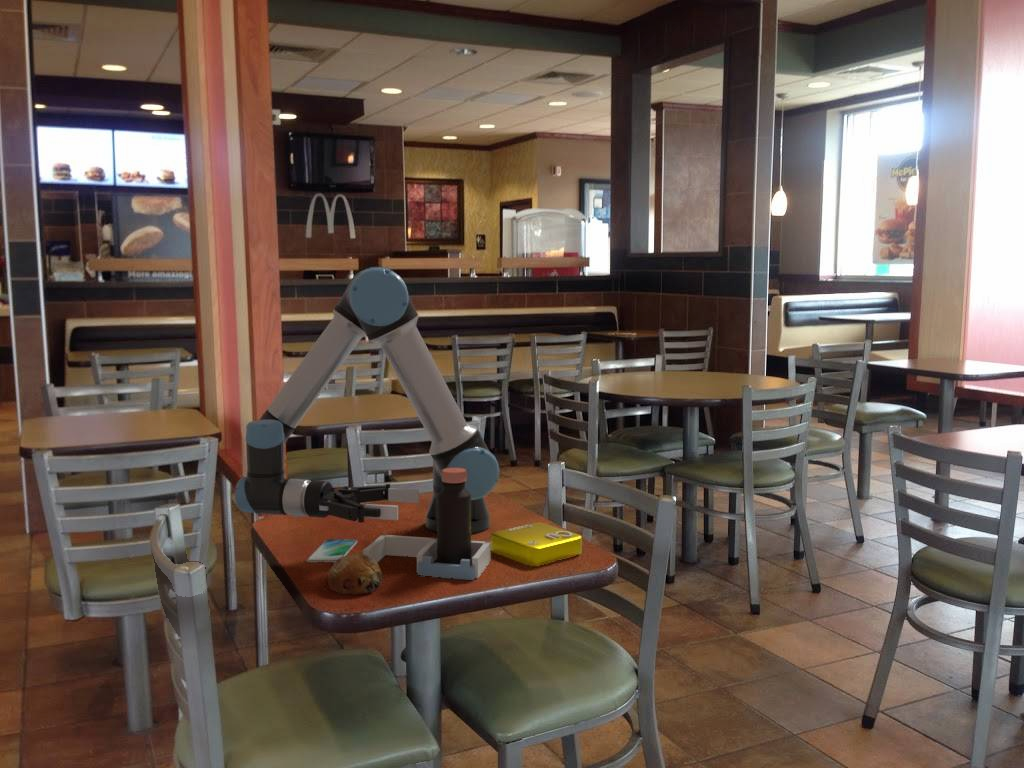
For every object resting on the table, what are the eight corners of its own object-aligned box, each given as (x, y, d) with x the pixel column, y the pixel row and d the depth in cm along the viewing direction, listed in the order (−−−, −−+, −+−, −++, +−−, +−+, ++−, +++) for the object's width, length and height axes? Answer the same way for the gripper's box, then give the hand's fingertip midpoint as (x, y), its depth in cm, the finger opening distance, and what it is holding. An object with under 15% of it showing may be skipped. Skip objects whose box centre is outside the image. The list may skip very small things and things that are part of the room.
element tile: (539, 539, 201) (539, 519, 201) (586, 555, 190) (586, 533, 189) (486, 552, 192) (487, 530, 191) (533, 570, 180) (533, 547, 180)
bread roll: (375, 595, 174) (369, 554, 176) (392, 588, 166) (385, 545, 168) (325, 603, 169) (320, 562, 172) (340, 597, 161) (334, 553, 163)
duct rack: (382, 552, 189) (382, 534, 189) (490, 560, 184) (490, 541, 184) (360, 571, 177) (360, 551, 176) (476, 580, 172) (476, 560, 172)
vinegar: (444, 561, 184) (443, 465, 182) (475, 564, 182) (475, 467, 180) (432, 571, 178) (432, 472, 175) (464, 574, 176) (464, 474, 173)
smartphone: (305, 560, 183) (326, 539, 197) (305, 564, 183) (326, 542, 198) (339, 560, 182) (358, 539, 197) (340, 564, 182) (358, 543, 197)
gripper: (333, 501, 197) (426, 507, 192) (283, 532, 172) (388, 540, 168) (333, 468, 196) (426, 473, 192) (282, 494, 171) (387, 501, 167)
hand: (408, 504), depth 180 cm, fingers open, 13 cm apart
